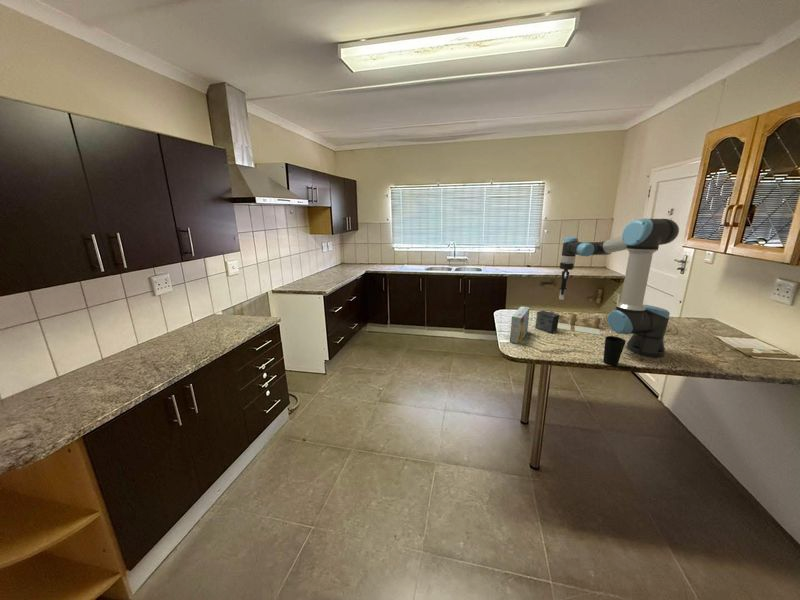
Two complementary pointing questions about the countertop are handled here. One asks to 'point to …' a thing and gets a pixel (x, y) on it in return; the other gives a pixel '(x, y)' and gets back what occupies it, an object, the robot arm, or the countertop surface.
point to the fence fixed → (585, 321)
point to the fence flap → (563, 318)
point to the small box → (547, 321)
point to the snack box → (519, 324)
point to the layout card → (578, 328)
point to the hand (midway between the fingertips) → (561, 299)
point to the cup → (613, 350)
